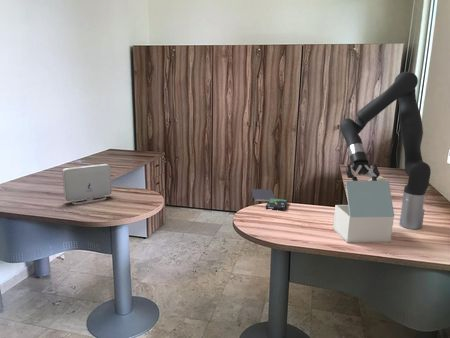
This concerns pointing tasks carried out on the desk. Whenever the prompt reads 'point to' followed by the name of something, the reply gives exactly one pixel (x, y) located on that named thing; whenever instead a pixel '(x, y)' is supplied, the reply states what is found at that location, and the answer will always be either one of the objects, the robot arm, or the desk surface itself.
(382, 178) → the character mug
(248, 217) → the desk surface
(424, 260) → the desk surface
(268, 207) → the disk drive
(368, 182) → the lid flap
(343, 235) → the carton
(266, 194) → the notebook
